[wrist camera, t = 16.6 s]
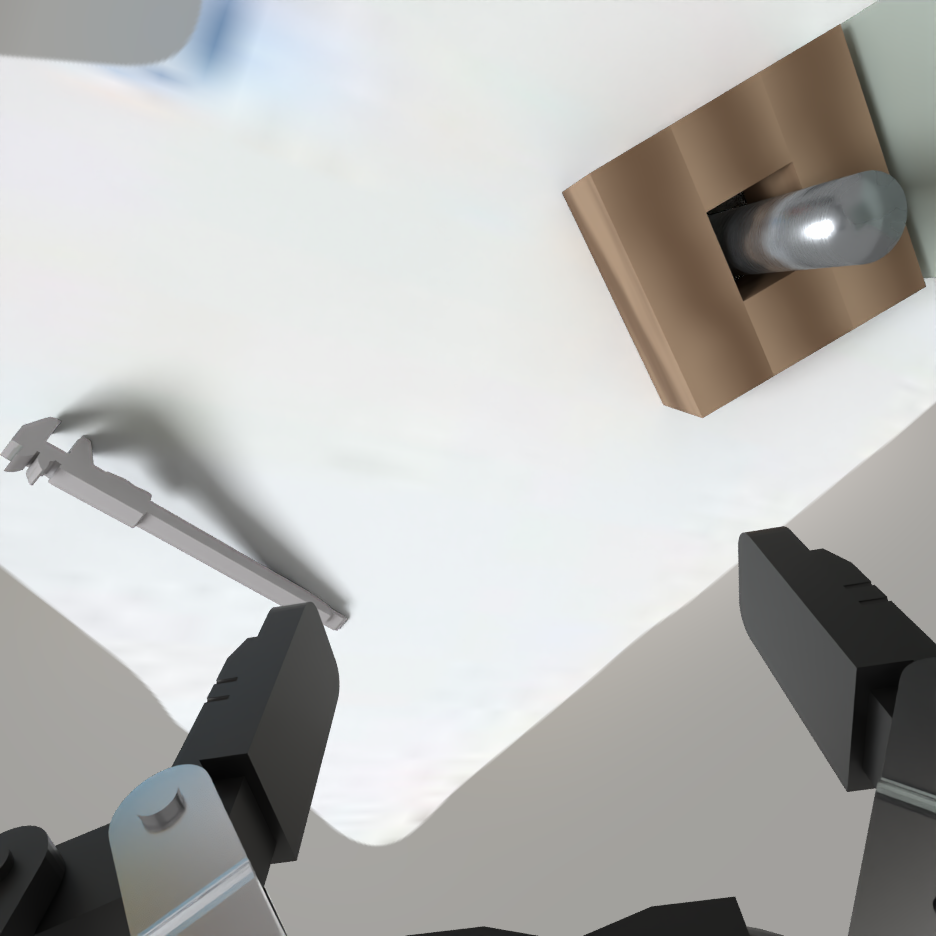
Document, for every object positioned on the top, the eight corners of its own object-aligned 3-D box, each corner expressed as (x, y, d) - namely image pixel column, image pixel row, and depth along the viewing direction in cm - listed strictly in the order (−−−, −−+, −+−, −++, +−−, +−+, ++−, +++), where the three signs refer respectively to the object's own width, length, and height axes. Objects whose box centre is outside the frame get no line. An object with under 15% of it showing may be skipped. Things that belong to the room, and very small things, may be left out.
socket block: (663, 404, 39) (702, 418, 34) (561, 192, 35) (589, 173, 30) (859, 289, 39) (925, 286, 34) (777, 63, 35) (840, 23, 30)
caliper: (44, 429, 35) (-26, 453, 29) (56, 414, 35) (-13, 435, 29) (337, 627, 40) (329, 683, 34) (348, 615, 40) (342, 669, 34)
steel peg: (677, 261, 37) (809, 240, 25) (706, 202, 36) (856, 153, 25) (726, 288, 38) (876, 279, 26) (756, 230, 37) (923, 196, 26)
